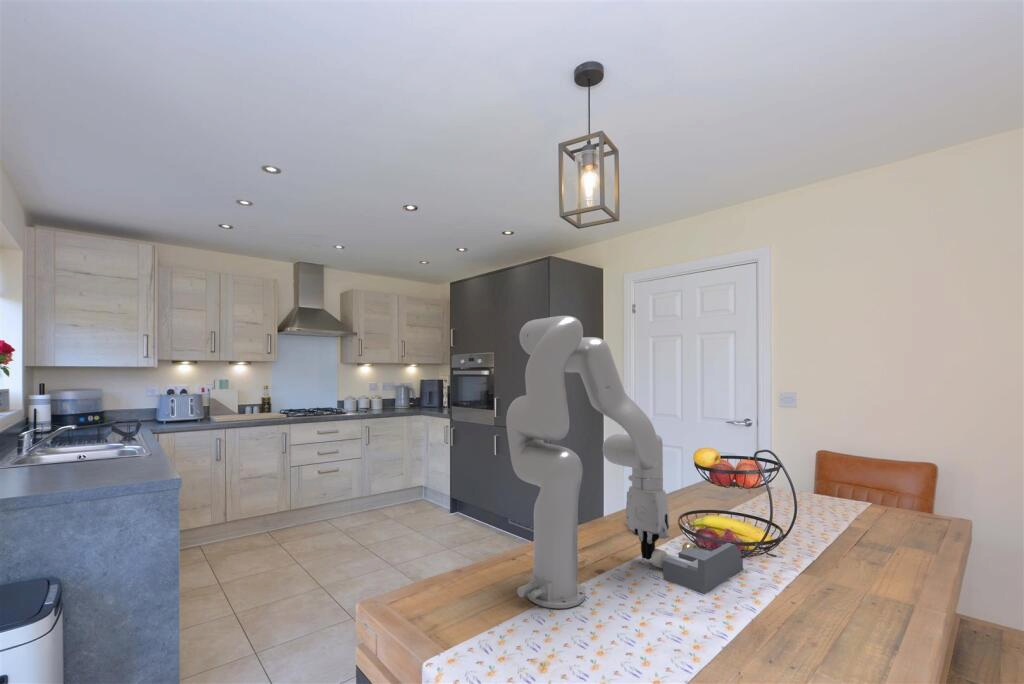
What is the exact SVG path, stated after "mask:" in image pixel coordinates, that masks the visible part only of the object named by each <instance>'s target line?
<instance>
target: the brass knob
mask: <svg viewBox="0 0 1024 684" xmlns="http://www.w3.org/2000/svg"><path fill="white" fill-rule="evenodd" d="M689 547H691V548H694V549H698V550H701V551H705V552H708V553H709V552H711V551H708V550H705V549H701V548H698V546H697V544H694V543H691V542H684V543H683V545H682V549H681V551H683V550H685V549H687V548H689Z"/></svg>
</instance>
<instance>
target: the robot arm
mask: <svg viewBox="0 0 1024 684" xmlns="http://www.w3.org/2000/svg"><path fill="white" fill-rule="evenodd" d="M518 336H519V344H520V346H521V348H522V349H523V350H524V351H525V353H526V354H528V355H529V358H528V361H527V363H526V367H525V374H524V381H525V392H526V393H525V395H520V396H518V397H516V398H515V399H514V400H513V401H512V402H511V403H510V405H509V407H508V409H507V412H506V417H505V419H506V421H505V423H506V432H507V433H506V434H507V440H508V441H507V442H508V447H509V455H510V461H511V465H512V469H513V471H514V473H515V474H516V476H517V478H518V479H520V480H521V481H523V482H525V483H528V484H531V485H534V486H537V487H539V488H540V489H539V493H538V496H537V498H536V500H535V503H534V506H533V507H534V508H533V573H532V574H530V575H529V581H528V582H527V584H524V585H521V586H519V587H517V590H516V593H517V595H518V597H520V598H523V597H527V599H529V601H530V602H532V603H533V604H536V605H538V606H541V607H544V608H547V609H569V608H573V607H575V606H576V607H577V606H578V605H580V604H581V603H582V602H584V600H585V598H586V591H585V588H584V586H582V585H581V584H580V583H579V580H578V579H579V574H578V571H579V568H578V567H579V563H578V562H579V561H578V560H579V553H578V552H579V549H578V548H579V539H578V538H579V520H578V518H579V514H578V511H579V495H580V489H581V484H582V479H583V471H584V470H583V464H582V461H581V458H580V457H579V455H578V454H577V453H576V452H575V451H573V450H572V449H570V448H568V447H564V446H561V445H558V444H557V445H556V444H551V443H547V442H555V441H560V440H562V439H563V438H565V437H566V436H567V435H568V433H569V430H570V429H569V428H570V415H569V407H568V400H567V391H566V383H565V373H579V375H580V377H581V379H582V380H581V381H582V382H583V385H584V388H585V390H586V394H587V396H588V399H589V402H590V405H591V406H592V408H594V409H595V410H596V411H598V412H600V414H603V416H605V417H607V418H609V419H611V420H612V421H614V422H615V423H617V424H618V426H619V425H620V427H621V428H623V429H624V431H625V432H626V433H627V434H622V433H616V434H611V435H610V436H608V437H607V438H606V439H605V440H604V442H603V444H602V453H603V456H604V458H605V459H606V460H607V461H608V462H610V463H612V464H614V465H617V466H621V467H626V468H627V467H628V468H631V475H630V474H629V475H628V480H629V481H630V482H631V485H630V486H629V487H628V491H627V492H628V496H627V495H626V503H625V504H626V506H625V524H626V525H627V527H628V529H629V530H631V531H632V530H633V531H635V532H636V534H637V537H638V540H639V541H640V553H641V559H644V560H647V561H648V560H651V556H652V553H653V551H654V550H655V549H656V542H657V541H658V540H659V539H660V540H661V539H667V538H669V531H668V530H669V528H670V512H669V501H668V497H667V492H666V490H665V489H664V480H663V479H664V467H663V466H664V461H663V460H664V458H663V457H664V455H663V454H664V453H663V437H662V436H661V435H659V434H657V433H656V430H655V427H654V425H653V423H652V421H651V420H650V417H648V415H647V414H646V413H645V412H644V411H643V410H642V409H641V407H639V405H638V404H637V403H636V402H635V401H634V400H633V399H632V398H630V397H629V396H628V395H627V393H626V391H625V389H624V386H623V383H622V380H621V377H620V374H619V372H618V368H617V365H616V362H615V361H614V360H615V359H614V357H613V355H612V352H611V349H610V346H609V345H608V343H607V342H606V341H605V340H604V339H602V338H600V337H595V336H594V337H591V336H587V337H586V336H585V337H583V336H584V329H583V325H582V322H581V321H580V320H579V319H578V318H577V317H575V316H571V315H557V316H550V317H545V318H543V317H542V318H538V319H537V318H536V319H532V320H529V321H527V322H526V323H525V324H524V325H522V327H521V329H520V331H519V335H518ZM544 441H547V442H544ZM633 531H632V532H633Z"/></svg>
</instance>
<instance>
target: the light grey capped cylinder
mask: <svg viewBox="0 0 1024 684" xmlns="http://www.w3.org/2000/svg"><path fill="white" fill-rule="evenodd" d="M669 557H670V558H673V559H676V560H679V561H682V562H686V563H691V561H688V560H685V559H681V558H679V556H676V555H675V556H674V555H672V554H668V553H667V552H666V550H662V549H659V548H655V550H654V551H653V553H652V556H651V559H650V560H651V561H650V562H651V564H652V566H654V567H656V568H657V567H658V568H660V569H663V560H665V559H667V558H669Z"/></svg>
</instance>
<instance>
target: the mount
mask: <svg viewBox="0 0 1024 684" xmlns="http://www.w3.org/2000/svg"><path fill="white" fill-rule="evenodd" d="M734 539H736V540H738V541H742V542H743V539H740V538H738V537H736V538H734ZM697 547H698V546H697ZM698 548H699V547H698ZM701 549H702V548H701ZM705 550H708V551H711V552H709V553H708V552H705V551H701V550H698V549H694V548H691V547H689V548H687V549H685V550H683V551H682V550H681V551H679V552H678V558H681V559H685V560H688V561H691V563H686V562H682V561H679V560H676V559H673V558H670V557H669V558H667V559H665V560H663V568H662V572H663V573H662V579H663V580H666V581H668V582H670V583H673V584H677V585H678V586H682V587H685V588H687V589H690V590H694V591H696V592H699V593H701V594H707V593H708V592H711V591H712V590H713V589H715V588H716V587H718V586H719V585H721V584H722V583H723V582H725V581H727V580H729V579H730V578H732V577H733V576H734V575H736V574H737V572H738V573H739V572H740V570H741V571H742V570H744V561H743V559H744V557H743V558H740V556H741V552H740V551H739V549H738V548H737V546H736V545H735V544H731V543H728V542H726V543H725V544H723V545H722V544H721V547H719V548H717V549H712V548H706V549H705ZM729 577H730V578H729Z"/></svg>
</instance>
